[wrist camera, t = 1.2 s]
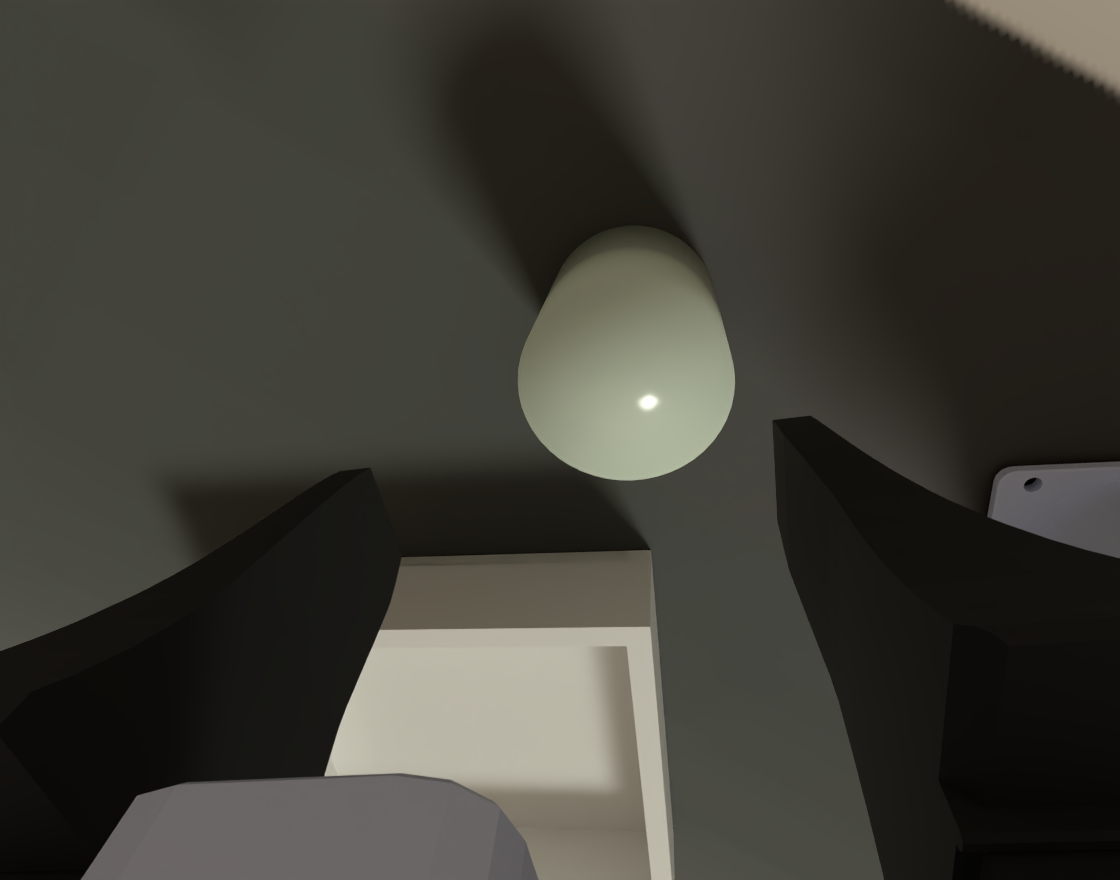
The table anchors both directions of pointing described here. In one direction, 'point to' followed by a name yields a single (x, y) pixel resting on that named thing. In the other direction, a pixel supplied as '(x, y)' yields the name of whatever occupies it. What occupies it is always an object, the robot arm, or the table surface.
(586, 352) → the sage green capsule
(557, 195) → the table surface
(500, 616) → the white bin
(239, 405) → the table surface
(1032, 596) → the robot arm
